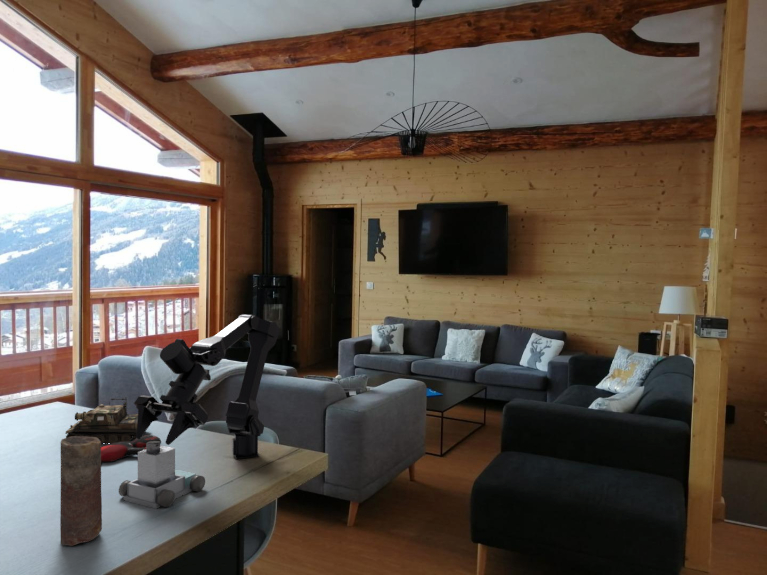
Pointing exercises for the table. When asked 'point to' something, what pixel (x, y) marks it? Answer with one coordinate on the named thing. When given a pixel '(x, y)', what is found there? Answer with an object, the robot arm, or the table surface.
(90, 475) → the candle
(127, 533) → the table surface
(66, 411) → the table surface
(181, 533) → the table surface
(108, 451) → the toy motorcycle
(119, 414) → the model tank
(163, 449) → the block
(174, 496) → the chassis
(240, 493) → the table surface
